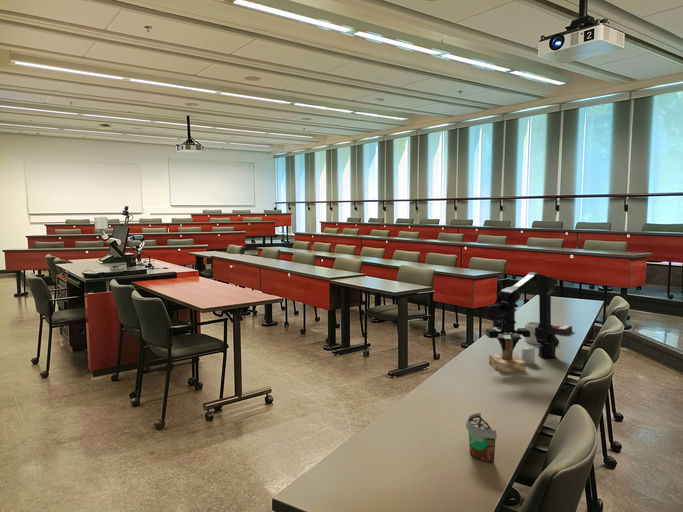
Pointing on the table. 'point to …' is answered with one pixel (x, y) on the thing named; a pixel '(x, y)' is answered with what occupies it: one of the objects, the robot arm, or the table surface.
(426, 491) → the table surface
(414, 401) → the table surface
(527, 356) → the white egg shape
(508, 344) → the square peg
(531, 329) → the mug
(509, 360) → the socket block
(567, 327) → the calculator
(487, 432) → the food container
